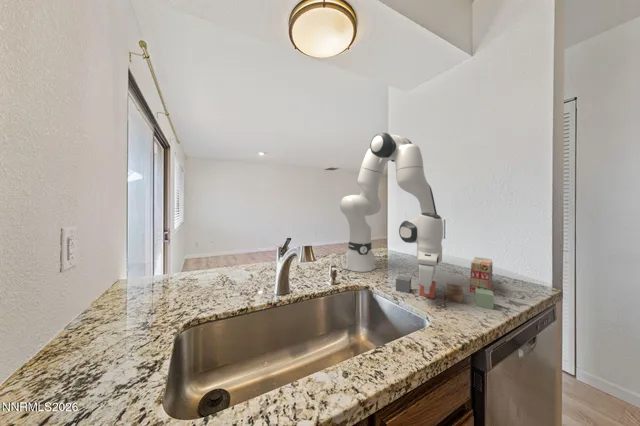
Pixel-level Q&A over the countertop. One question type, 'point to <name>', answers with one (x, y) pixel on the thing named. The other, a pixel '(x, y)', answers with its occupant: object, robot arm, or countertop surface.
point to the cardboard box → (481, 274)
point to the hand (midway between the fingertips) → (427, 290)
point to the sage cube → (484, 298)
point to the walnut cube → (454, 293)
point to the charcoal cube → (403, 284)
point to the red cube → (432, 290)
